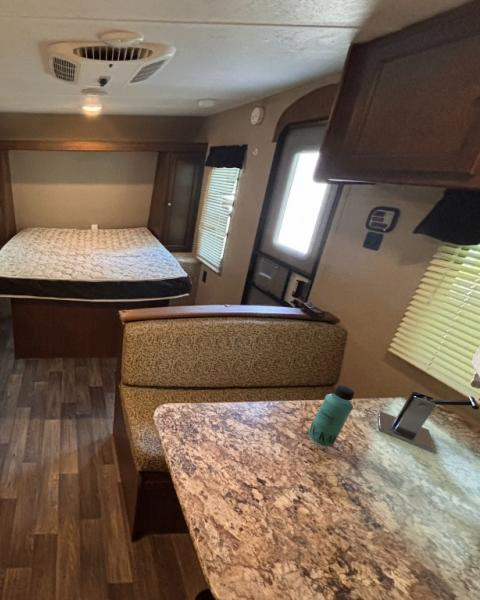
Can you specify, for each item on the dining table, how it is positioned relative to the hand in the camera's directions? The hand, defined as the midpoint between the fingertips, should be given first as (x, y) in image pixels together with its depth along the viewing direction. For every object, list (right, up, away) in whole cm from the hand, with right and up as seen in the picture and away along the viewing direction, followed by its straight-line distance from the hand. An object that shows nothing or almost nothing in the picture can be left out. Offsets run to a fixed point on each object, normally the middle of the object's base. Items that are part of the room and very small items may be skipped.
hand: (478, 394), depth 86 cm
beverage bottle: (-38, -16, +8) cm, 42 cm away
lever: (-3, -5, +5) cm, 8 cm away
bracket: (-7, -15, +13) cm, 22 cm away
